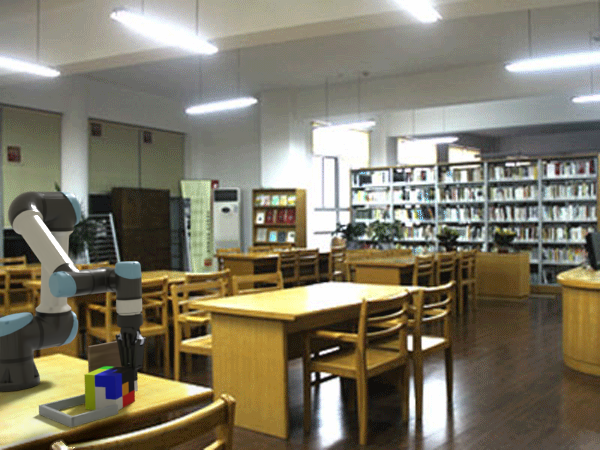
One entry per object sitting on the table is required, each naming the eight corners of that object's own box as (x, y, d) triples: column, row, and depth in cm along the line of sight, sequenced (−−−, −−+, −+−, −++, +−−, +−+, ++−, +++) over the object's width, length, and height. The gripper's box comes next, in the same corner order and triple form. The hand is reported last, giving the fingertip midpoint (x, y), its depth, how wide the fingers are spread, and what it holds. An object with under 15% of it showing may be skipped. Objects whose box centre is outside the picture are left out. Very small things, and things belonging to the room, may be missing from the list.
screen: (85, 397, 189) (83, 345, 189) (128, 386, 200) (126, 337, 200) (95, 401, 185) (93, 347, 185) (138, 389, 196) (137, 339, 196)
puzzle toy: (116, 411, 174) (115, 376, 174) (85, 409, 177) (84, 374, 177) (134, 401, 184) (133, 367, 184) (105, 399, 187) (104, 366, 187)
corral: (39, 414, 174) (38, 405, 174) (85, 402, 184) (84, 393, 184) (70, 427, 162) (70, 417, 162) (118, 413, 172) (117, 404, 172)
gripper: (153, 313, 184) (155, 391, 185) (128, 309, 193) (130, 384, 193) (131, 316, 179) (134, 397, 179) (106, 313, 187) (109, 390, 187)
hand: (132, 391), depth 186 cm, fingers closed
